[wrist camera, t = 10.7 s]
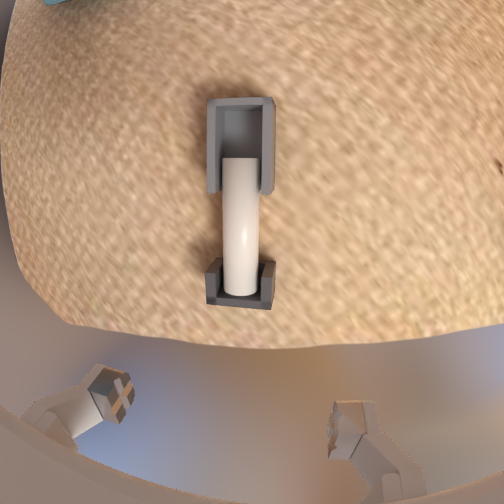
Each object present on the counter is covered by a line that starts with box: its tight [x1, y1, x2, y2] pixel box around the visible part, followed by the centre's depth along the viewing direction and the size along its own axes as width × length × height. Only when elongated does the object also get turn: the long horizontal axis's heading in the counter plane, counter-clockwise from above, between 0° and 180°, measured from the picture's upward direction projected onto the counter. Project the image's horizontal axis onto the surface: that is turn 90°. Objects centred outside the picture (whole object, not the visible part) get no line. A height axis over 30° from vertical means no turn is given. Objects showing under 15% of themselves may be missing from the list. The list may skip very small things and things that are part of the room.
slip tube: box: [222, 158, 260, 296], centre depth 33 cm, size 15×4×4 cm, turn 179°
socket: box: [205, 258, 276, 310], centre depth 36 cm, size 4×8×5 cm, turn 89°
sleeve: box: [207, 97, 276, 195], centre depth 31 cm, size 10×7×5 cm, turn 179°
